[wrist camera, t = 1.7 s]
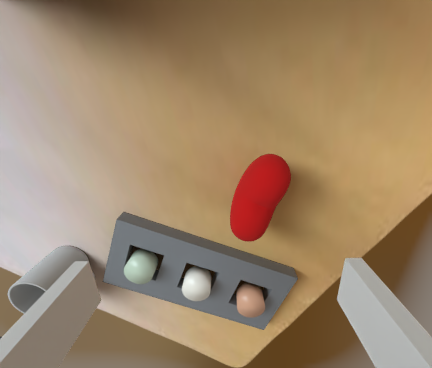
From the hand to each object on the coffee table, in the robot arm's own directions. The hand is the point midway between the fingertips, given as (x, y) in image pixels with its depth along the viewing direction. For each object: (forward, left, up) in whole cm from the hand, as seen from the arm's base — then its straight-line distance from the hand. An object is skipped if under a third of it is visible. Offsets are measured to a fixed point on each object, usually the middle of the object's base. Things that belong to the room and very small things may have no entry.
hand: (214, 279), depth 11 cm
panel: (+3, -21, -23) cm, 31 cm away
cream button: (+3, -21, -21) cm, 30 cm away
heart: (+5, -1, -23) cm, 24 cm away
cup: (-19, -28, -23) cm, 41 cm away
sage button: (-7, -21, -21) cm, 30 cm away
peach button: (+13, -21, -21) cm, 32 cm away
